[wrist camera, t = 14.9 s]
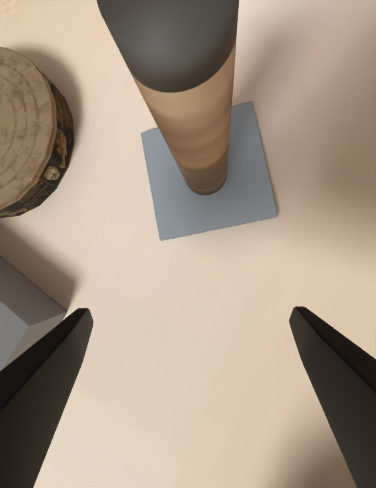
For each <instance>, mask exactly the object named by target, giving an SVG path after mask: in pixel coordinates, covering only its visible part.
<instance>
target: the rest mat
mask: <svg viewBox="0 0 376 488" xmlns="http://www.w3.org/2000/svg"><path fill="white" fill-rule="evenodd" d="M141 137H142V142H143V148H144V154H145V159H146V165H147V170H148V176H149V181H150V187H151V192H152V198H153V203H154V209H155V215H156V220H157V226H158V231H159V237H160V240H161V241H163V240H168V239H173V238H178V237H182V236H187V235H192V234H197V233H202V232H207V231H211V230H216V229H221V228H226V227H231V226H236V225H240V224H245V223H250V222H255V221H260V220H265V219H269V218H274V217H277V211H276V207H275V202H274V198H273V193H272V189H271V184H270V180H269V175H268V171H267V166H266V162H265V157H264V153H263V148H262V144H261V139H260V135H259V130H258V126H257V121H256V117H255V112H254V108H253V103H252V101H250V102H246V103H243V104H239V105H236V106H232V108H231V122H230V137H229V151H228V165H227V177H226V181H225V183H224V185H223V186H222V188H221V189H220V190H218V191H217V192H215V193H213V194H211V195H199V194H196V193H194V192H193V191H192V190H191V189H190V188H189V187H188V185H187V183H186V181H185V179H184V177H183V176H182V174H181V172H180V170H179V168H178V166H177V164H176V162H175V160H174V158H173V156H172V154H171V152H170V150H169V148H168V146H167V144H166V142H165V140H164V138H163V136H162V134H161V132H160V130H159V128H157V129H153V130H150V131H147V132H143V133H141Z"/></svg>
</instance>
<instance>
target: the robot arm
mask: <svg viewBox="0 0 376 488" xmlns="http://www.w3.org/2000/svg"><path fill="white" fill-rule="evenodd" d="M289 323H290V327H291V330H292V333H293V336H294V339H295V342H296V345H297V348H298V352H299V355H300V357H301V360H302V362H303V365H304V367H305V370H306V372H307V374H308V376H309V379H310V381H311V383H312V386H313V388H314V390H315V392H316V395H317V397H318V399H319V402H320V404H321V406H322V408H323V411H324V413H325V415H326V418H327V420H328V422H329V424H330V427H331V429H332V431H333V434H334V436H335V438H336V441H337V443H338V445H339V447H340V450H341V452H342V454H343V457H344V459H345V461H346V463H347V466H348V468H349V470H350V473H351V475H352V477H353V479H354V482H355V484H356V486H357V488H376V359H375V358H373V357H372V356H371V355H369V354H368V353H367V352H365V351H364V350H363V349H361V348H360V347H358V346H357V345H356V344H354V343H353V342H352V341H350V340H349V339H348V338H346V337H345V336H344V335H342V334H341V333H340V332H338V331H337V330H336V329H334V328H333V327H331V326H330V325H329V324H327V323H326V322H325V321H323V320H322V319H321V318H319V317H318V316H317V315H315V314H314V313H313V312H311V311H310V310H309V309H307V308H306V307H303V306H296V307H294V308H293V311H292V313H291V316H290V319H289ZM92 327H93V319H92V316H91V313H90V310H89V309H88V308H78V309H77V310H75V311H74V312H73V313H72V314H70V315H69V316H68V317H67V318H65V319H64V320H63V321H62V322H60V323H59V324H58V325H57V326H56V327H54V328H53V329H52V330H51V331H49V332H48V333H47V334H46V335H44V336H43V337H42V338H41V339H39V340H38V341H37V342H36V343H34V344H33V345H32V346H31V347H29V348H28V349H27V350H26V351H24V352H23V353H22V354H21V355H19V356H18V357H17V358H16V359H14V360H13V361H12V362H11V363H10V364H8V365H7V366H6V367H5V368H3V369H2V370H1V371H0V488H33V487H34V484H35V482H36V479H37V477H38V474H39V472H40V469H41V466H42V464H43V461H44V459H45V456H46V454H47V451H48V449H49V446H50V444H51V441H52V439H53V436H54V434H55V431H56V428H57V426H58V423H59V421H60V418H61V416H62V413H63V411H64V408H65V406H66V403H67V401H68V398H69V396H70V393H71V390H72V388H73V385H74V383H75V380H76V378H77V375H78V373H79V370H80V368H81V365H82V362H83V359H84V356H85V352H86V349H87V345H88V342H89V338H90V335H91V331H92Z"/></svg>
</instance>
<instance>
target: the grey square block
mask: <svg viewBox="0 0 376 488" xmlns="http://www.w3.org/2000/svg"><path fill="white" fill-rule="evenodd" d="M66 313H67V311H66V310H64V309H63V308H62V307H61V306H60V305H58V304H57V303H56V302H55V301H54V300H52V299H51V298H50V297H49V296H47V295H46V294H45V293H44V292H43V291H41V290H40V289H39V288H38V287H37V286H35V285H34V284H33V283H32V282H31V281H29V280H28V279H27V278H26V277H25V276H23V275H22V274H21V273H20V272H19V271H17V270H16V269H15V268H14V267H13V266H11V265H10V264H9V263H8V262H7V261H5V260H4V259H3V258H2V257H1V256H0V371H1V370H2V369H3V368H5V367H6V366H7V365H8V364H10V363H11V362H12V361H13V360H14V359H16V358H17V357H18V356H19V355H21V354H22V353H23V352H24V351H26V350H27V349H28V348H29V347H31V346H32V345H33V344H34V343H36V342H37V341H38V340H39V339H41V338H42V337H43V336H44V335H46V334H47V333H48V332H49V331H51V330H52V329H53V328H54V327H56V326H57V325H58V324H59V323H60V322H61V321H62V319H63V317H64V316H65V314H66Z"/></svg>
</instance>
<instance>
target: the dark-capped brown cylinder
mask: <svg viewBox="0 0 376 488" xmlns="http://www.w3.org/2000/svg"><path fill="white" fill-rule="evenodd" d="M97 3H98V7H99V10H100V12H101V15H102V17H103V19H104V21H105V23H106V25H107V27H108V29H109V31H110V33H111V35H112V37H113V39H114V41H115V43H116V45H117V47H118V48H119V50H120V52H121V54H122V56H123V58H124V60H125V62H126V64H127V66H128V68H129V70H130V72H131V74H132V76H133V78H134V80H135V82H136V84H137V86H138V88H139V90H140V92H141V94H142V96H143V98H144V100H145V102H146V104H147V106H148V108H149V110H150V112H151V114H152V116H153V118H154V120H155V122H156V124H157V126H158V128H159V130H160V132H161V134H162V136H163V138H164V140H165V142H166V144H167V146H168V148H169V150H170V152H171V154H172V156H173V158H174V160H175V162H176V164H177V166H178V168H179V170H180V172H181V174H182V176H183V177H184V179H185V181H186V183H187V185H188V187H189V188H190V189H191V190H192V191H193V192H194V193H196V194H199V195H211V194H213V193H215V192H217V191H218V190H220V189H221V188H222V186H223V185H224V183H225V181H226V177H227V165H228V151H229V137H230V122H231V108H232V93H233V79H234V65H235V50H236V36H237V21H238V7H239V0H97Z"/></svg>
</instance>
